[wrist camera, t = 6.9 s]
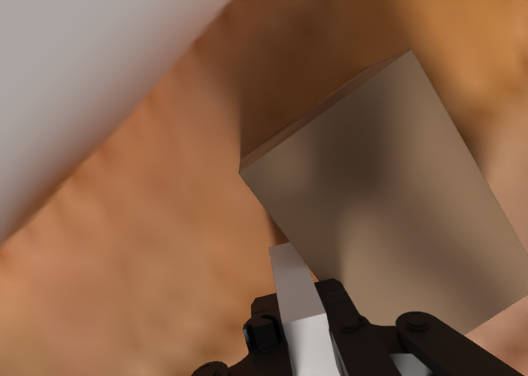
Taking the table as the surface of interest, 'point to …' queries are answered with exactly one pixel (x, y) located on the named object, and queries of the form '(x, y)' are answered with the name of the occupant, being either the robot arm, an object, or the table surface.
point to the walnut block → (391, 201)
